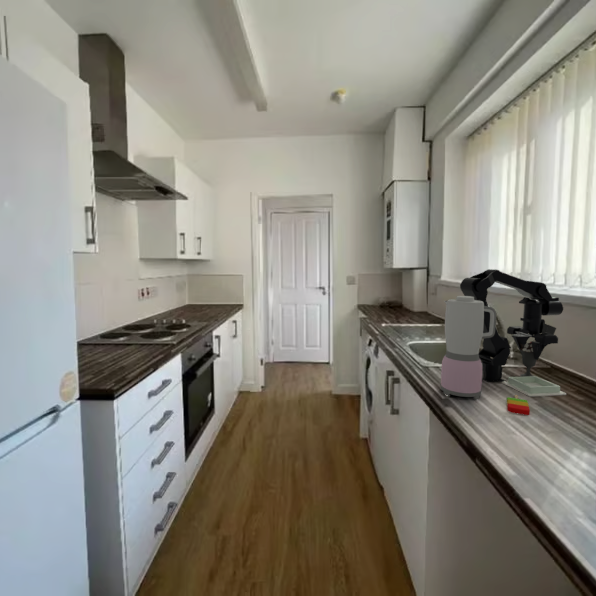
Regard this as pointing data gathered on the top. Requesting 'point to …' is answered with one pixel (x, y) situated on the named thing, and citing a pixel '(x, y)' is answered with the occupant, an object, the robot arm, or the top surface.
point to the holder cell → (533, 386)
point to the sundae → (527, 358)
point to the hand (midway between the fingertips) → (529, 357)
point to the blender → (464, 346)
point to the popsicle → (518, 405)
